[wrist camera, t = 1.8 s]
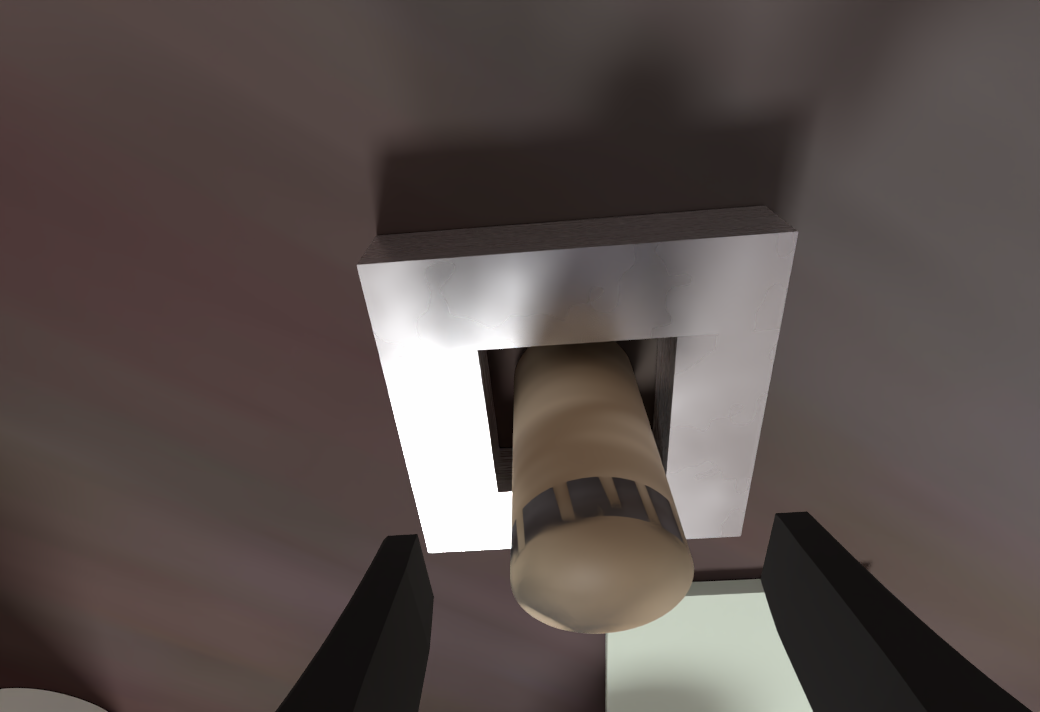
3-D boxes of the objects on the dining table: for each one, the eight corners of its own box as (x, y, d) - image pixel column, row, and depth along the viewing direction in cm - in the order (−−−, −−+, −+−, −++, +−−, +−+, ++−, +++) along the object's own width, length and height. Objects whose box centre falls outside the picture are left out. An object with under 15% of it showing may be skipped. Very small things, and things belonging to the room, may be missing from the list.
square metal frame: (764, 205, 14) (798, 231, 12) (721, 490, 19) (740, 536, 18) (376, 235, 14) (356, 264, 13) (436, 505, 20) (428, 552, 18)
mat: (862, 573, 22) (870, 587, 21) (812, 706, 27) (817, 719, 26) (605, 586, 22) (607, 600, 21) (605, 714, 27) (606, 727, 27)
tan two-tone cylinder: (633, 324, 16) (701, 510, 10) (630, 423, 18) (686, 629, 12) (508, 333, 16) (501, 521, 10) (519, 430, 18) (517, 637, 12)
